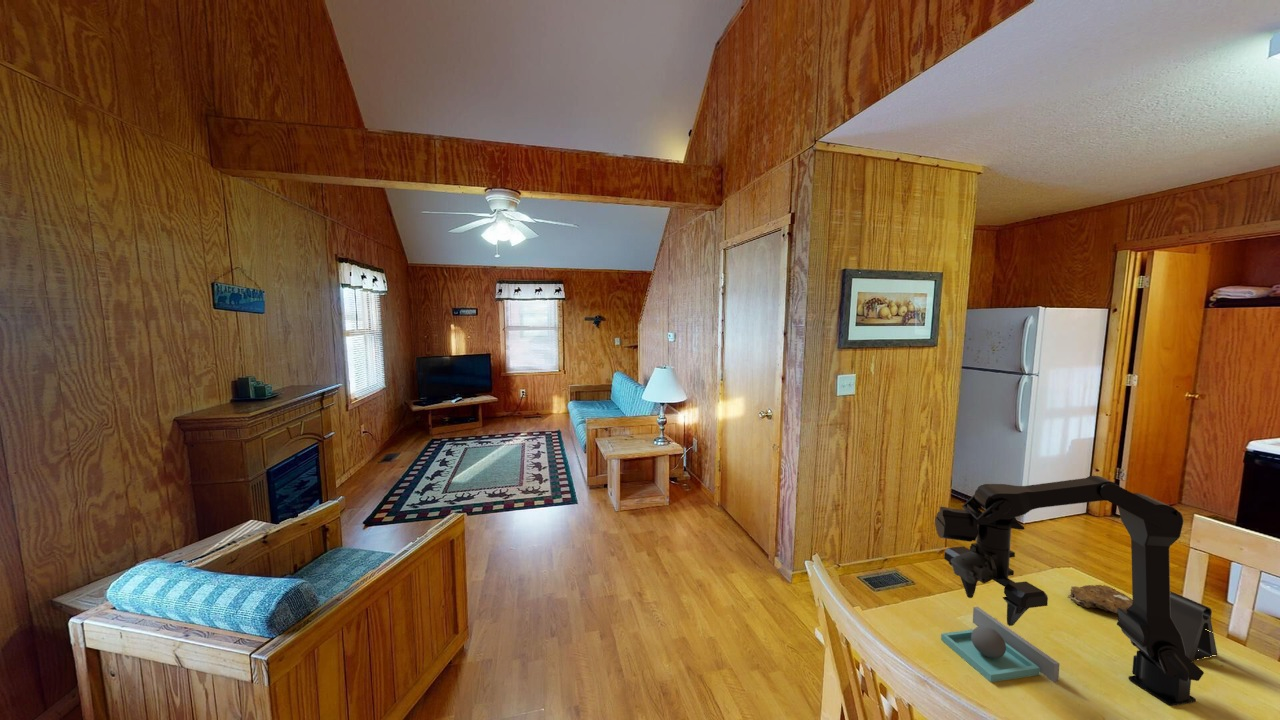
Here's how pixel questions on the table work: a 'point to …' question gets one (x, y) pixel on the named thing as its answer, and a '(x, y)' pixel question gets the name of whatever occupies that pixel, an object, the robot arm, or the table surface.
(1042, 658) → the low wall
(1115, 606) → the decorative rock
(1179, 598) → the phone stand
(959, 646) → the dish
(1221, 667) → the table surface
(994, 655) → the ball
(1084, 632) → the table surface
